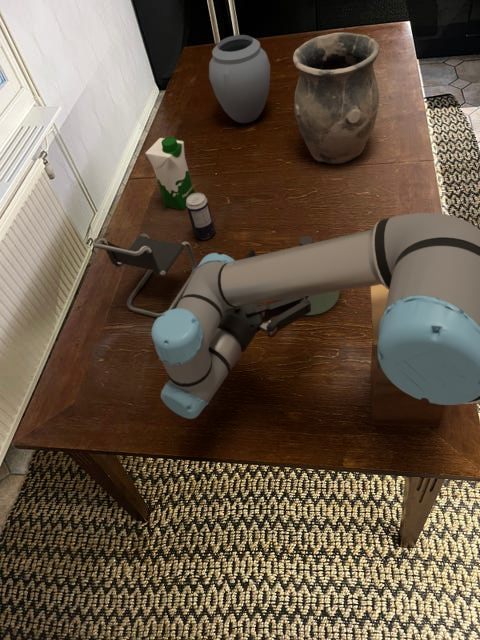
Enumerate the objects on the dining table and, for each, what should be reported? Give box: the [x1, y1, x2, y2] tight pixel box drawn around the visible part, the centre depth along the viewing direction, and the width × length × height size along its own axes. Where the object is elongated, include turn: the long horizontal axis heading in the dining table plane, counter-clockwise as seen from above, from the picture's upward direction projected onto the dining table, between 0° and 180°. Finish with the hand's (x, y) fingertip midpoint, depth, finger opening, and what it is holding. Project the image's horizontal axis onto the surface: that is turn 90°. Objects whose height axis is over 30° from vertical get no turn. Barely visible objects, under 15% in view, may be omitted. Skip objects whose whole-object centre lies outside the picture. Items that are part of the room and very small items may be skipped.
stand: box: [369, 285, 446, 428], centre depth 92 cm, size 14×14×28 cm
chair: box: [92, 233, 197, 319], centre depth 124 cm, size 13×17×22 cm
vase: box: [208, 34, 271, 124], centre depth 169 cm, size 20×20×24 cm
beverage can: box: [186, 192, 216, 240], centre depth 138 cm, size 6×6×12 cm
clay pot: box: [292, 31, 380, 165], centre depth 146 cm, size 22×23×30 cm
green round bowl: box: [305, 291, 341, 316], centre depth 121 cm, size 14×14×8 cm
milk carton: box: [145, 136, 196, 211], centre depth 147 cm, size 9×9×20 cm
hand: (282, 263), depth 105 cm, fingers open, 13 cm apart
